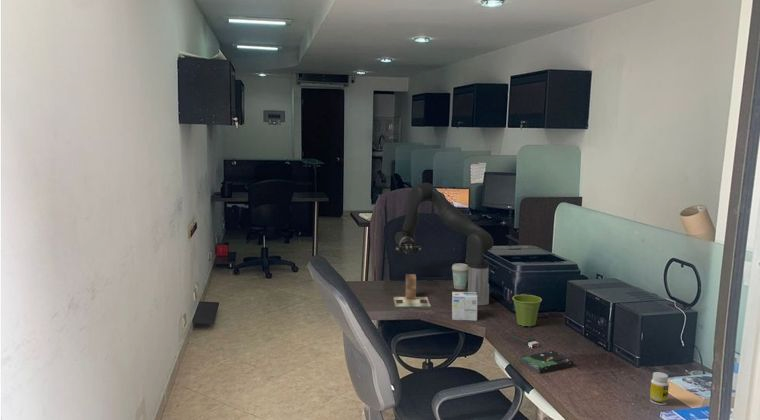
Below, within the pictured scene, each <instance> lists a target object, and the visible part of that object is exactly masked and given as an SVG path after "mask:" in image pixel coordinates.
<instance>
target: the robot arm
mask: <svg viewBox="0 0 760 420" xmlns="http://www.w3.org/2000/svg"><path fill="white" fill-rule="evenodd" d="M424 202H430V203H432V204H433V205H434V206H435V207H436V210H437V214H438V217H439V219H440V220H441V221H442V222H443V223H444V224H445V225H446V226H448V227H449V228H451V229H452V230H454V231H457V232H459V233H461V234H463V235H466V236H467V239H466V259H467V263H468V264H467V265H468V274H467V292H477V306H485V305H489V301H490V284H489V269H490V268H489V267H490V263H489V260H487V259H485V258H484V253H485V252H488V251H490V250H491V249H492V248H493V247H494V239H493V237H492V235H491V234H490V233H489V232H488V231H486V230H485V229H483V228H482V227H481V226H479V225H477V224H476V223H475V222H474V221H472V220H471V219H470V218H469V217H468V216H467V215H465V214H464V213H463V212H462V211H461V210H460V209H459V208H458V207H456V206H455V205H454V204H452V203H451V202H450V201H449V199H447V198H446V197H445V196H444V195H442V193H441V192H440V191H439V190H438V189H437V188H436V187H435V186H434V185H433V184H432V183H430V182H422V183H417V184H415V185H414V186H413V187H412V188H411V190H410V195H409V201H408V208H407V212H406V216H405V219H404V221H403V225H402V231H398V232H397V233H396V234H395V236H394V242H395V244H396V245H395V251H396V252H399V253H403V254H405V255H412V254H413V253H414V254H417V253H420V252H421V251H422V245H418V246H417V245H416V243H415V241H416V240H415V235H416V234H415V233H416V229H417V226H418V224H419V222H420V221H419V220H420V216H419V212H418V209H419V206H420V205H421V203H424Z"/></svg>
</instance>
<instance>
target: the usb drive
mask: <svg viewBox="0 0 760 420" xmlns="http://www.w3.org/2000/svg"><path fill="white" fill-rule="evenodd" d="M507 339H508V340H510V339H511V340H510V341H512V340H514V341H516V342H518V343H520V344H519V345H521V344H523V345H526V346H529V347H528V348H530V347H531V348H530V349H533V348H532V347H536V348H538V347H537V346H539V344H540V343H539V342H538V341H536V339H535V338H533V337H531V336H528V335H526V334H524V333H522V332H518V331H517V332H513V333H509V334H508V336H507ZM514 341H513V342H514ZM516 342H515V343H516ZM518 343H517V344H518ZM534 344H535V345H537V346H533V345H534ZM523 345H522V346H523ZM526 346H525V347H526ZM539 347H540V346H539Z"/></svg>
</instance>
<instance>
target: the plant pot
mask: <svg viewBox="0 0 760 420" xmlns="http://www.w3.org/2000/svg"><path fill="white" fill-rule="evenodd" d="M511 299H512V300H513V304H514V309H515V317H516V323H518V324H519V325H522V326H534V325H535V326H536V323H537V318H538V314H539V310H540V309H539V308H540V305H541V302H542V301H543V299H542V298H541V297H540V296H536V295H533V294H516V295H513V296H512V297H511ZM518 324H517V325H518ZM519 325H518V326H519ZM522 326H521V327H522ZM535 326H534V327H535Z"/></svg>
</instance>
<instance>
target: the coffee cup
mask: <svg viewBox="0 0 760 420" xmlns="http://www.w3.org/2000/svg"><path fill="white" fill-rule="evenodd" d="M468 266H469V264H467V263H461V262H460V263H453V264H452V266H451V270H452V280H453V281H452V282H453V288H454V289H456V290H465V289H467V288H466V286H467V282H468Z"/></svg>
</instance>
